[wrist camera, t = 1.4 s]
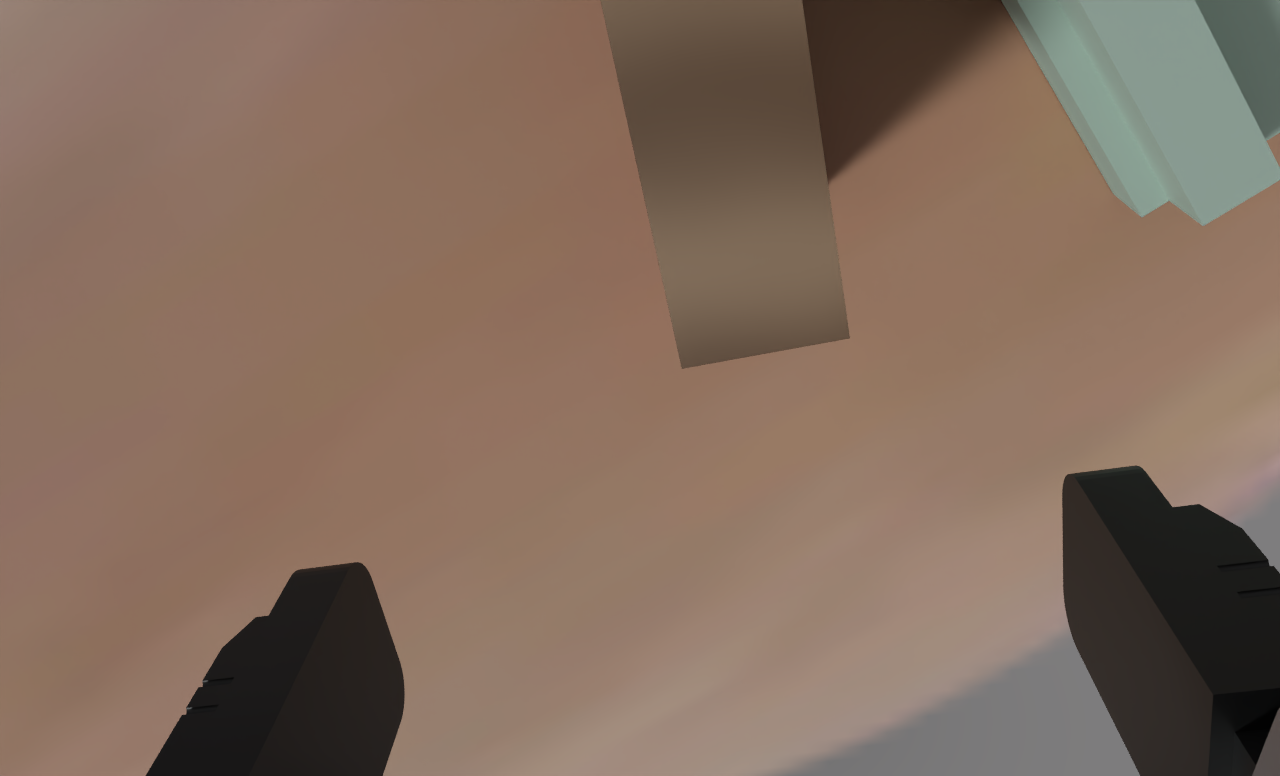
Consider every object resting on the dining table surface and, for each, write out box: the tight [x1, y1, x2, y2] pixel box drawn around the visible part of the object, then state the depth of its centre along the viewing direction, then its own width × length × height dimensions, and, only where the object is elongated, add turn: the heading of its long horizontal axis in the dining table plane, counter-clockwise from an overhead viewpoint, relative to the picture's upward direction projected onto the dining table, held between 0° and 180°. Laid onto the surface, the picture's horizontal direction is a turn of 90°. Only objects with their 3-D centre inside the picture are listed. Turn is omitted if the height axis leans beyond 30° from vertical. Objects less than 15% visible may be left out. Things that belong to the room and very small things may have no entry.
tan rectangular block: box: [601, 0, 850, 369], centre depth 24 cm, size 12×4×9 cm, turn 12°
